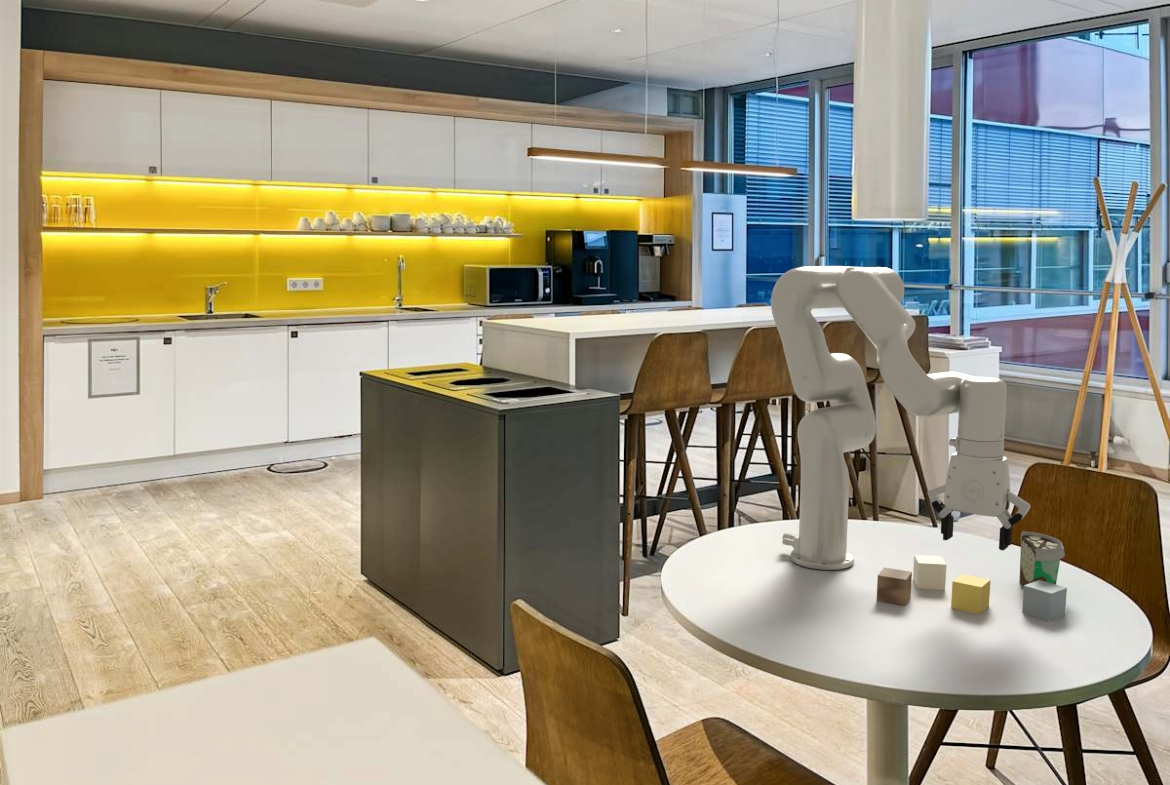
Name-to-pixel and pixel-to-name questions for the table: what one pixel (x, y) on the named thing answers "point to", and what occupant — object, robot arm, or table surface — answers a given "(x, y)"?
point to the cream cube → (929, 572)
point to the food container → (1039, 558)
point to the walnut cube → (894, 586)
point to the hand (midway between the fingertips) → (975, 543)
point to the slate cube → (1044, 600)
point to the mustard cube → (970, 593)
